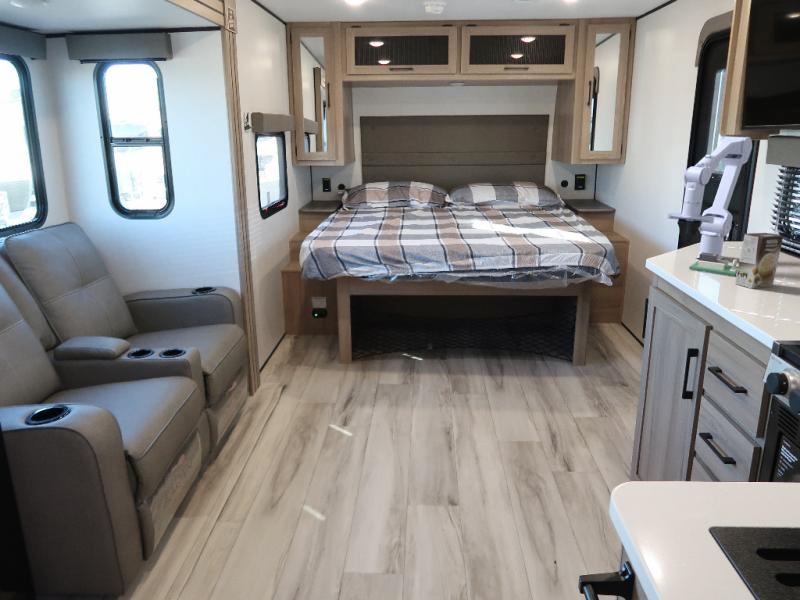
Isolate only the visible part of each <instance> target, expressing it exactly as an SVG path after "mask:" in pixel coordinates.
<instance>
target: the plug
mask: <svg viewBox="0 0 800 600" xmlns="http://www.w3.org/2000/svg"><path fill="white" fill-rule="evenodd" d="M717 258H718V254H711V253H703V252H702V253H701V254H700V256H699V259H698V261H699V260H700V261H707V262H714V263H717Z"/></svg>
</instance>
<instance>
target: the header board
mask: <svg viewBox="0 0 800 600" xmlns="http://www.w3.org/2000/svg"><path fill="white" fill-rule="evenodd" d="M729 262H730V261H729V260H726V259H724V260H723V259H721V260H719V259H717V263H714V262H707V261H700V260H699V259H698V261H696V262H695V263H693V264H692V265H690V266H689V267H688V270H689V269H693V270H692V271H695V270H699V271H698V272H701V271H705V272H704V273H708V272H710V273H709V274H715V275H722V276H727V275H728V277H733V276H734V277H736V276H737V275H736V274H737V271H738V266H737V263H738V258H735V259H733V261H732V265H729ZM735 275H736V276H735Z"/></svg>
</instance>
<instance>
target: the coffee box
mask: <svg viewBox="0 0 800 600" xmlns="http://www.w3.org/2000/svg"><path fill="white" fill-rule="evenodd" d="M783 239H784V235H781V234H775V233H768V232H753V233H752V232H751V233H750V232H749V233H744V235H743V241H742V246H741V250H740V257H739V260H738V266H737V267H738V271H737V275H736V276H735V282H734V284H735V285H738V286H741V287H744V286H745V288H749V289H763V288H769V287H770V288H772V287H773V286H774V282H775V277H776V272H777V268H778V263H779V258H780V253H781V249H782V244H783Z"/></svg>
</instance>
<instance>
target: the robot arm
mask: <svg viewBox="0 0 800 600" xmlns="http://www.w3.org/2000/svg"><path fill="white" fill-rule="evenodd" d="M752 150H753V141H752V138H751V137H750V136H746V137H745V136H726V135H722V136H720V138H719V139H718V141H717V144H716V148H715V149H714V150H713V152H712V153H711V154H705V156H703V157H702V158H701V159H700V160H699V161H698V162H697V163H696V164H695V165H694V166H690V167H688V168H687V169H686V170H685V173H684V174H683V181H684V189H685V190H684V198H683V204H682V205H683V206H682V211H681V213H678V212H668V213H667V220H677V226H678V229H679V232H680V241H681V242H685V241H686V237H687V235H686V234H687V229H688V224H689V222H690V234H689V237H688V243H693V240H694V238H695V235H696V233H697V231H699V232H700V234H701V238H700V244H699V251H698V254H697V255H696V256H695V257H694V258H695V259H698V258H699V256H700V254H701V253H702V252H703V253H711V254H718V258H717V259H719V260H723V259H724V257H725V255H722V253H723V247H724V243H725V242H724V241H725V240H724V237H726V236H727V235H728V234H729V233H730V231H731V229H732V222H733V215H732V213H731V212H730V211H729V210H728V208H729V205H730V201H731V199H732V196H733V192H734V190H735V187H736V184H737V182H738V180H739V179H738V178H739V176H740V172H741V170H742V167H743V165H744V164H746V163H747V162H748V161H749V158H750V155H751V153H752ZM720 161H721V162H723V163H725V168H724V171H723V174H722V177H721V180H720V183H719V186H718V188H717V192H716V195H715V198H714V201H713V203H712V206H711V207H709V208H707V209H705V210H704V211H703V213H702V215H701V212H702V211H701V210H702V205H703V199H704V193H705V186H706V185H707V184H708V183H709V181H710V178H711V177H712V174H713V173H714V172H715V171H716V170H717V169H718V168H719V166H720Z"/></svg>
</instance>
